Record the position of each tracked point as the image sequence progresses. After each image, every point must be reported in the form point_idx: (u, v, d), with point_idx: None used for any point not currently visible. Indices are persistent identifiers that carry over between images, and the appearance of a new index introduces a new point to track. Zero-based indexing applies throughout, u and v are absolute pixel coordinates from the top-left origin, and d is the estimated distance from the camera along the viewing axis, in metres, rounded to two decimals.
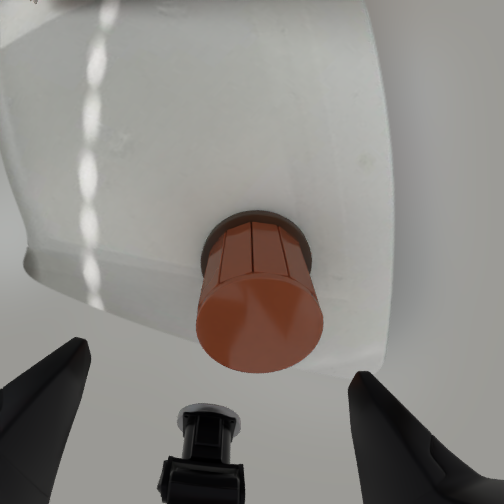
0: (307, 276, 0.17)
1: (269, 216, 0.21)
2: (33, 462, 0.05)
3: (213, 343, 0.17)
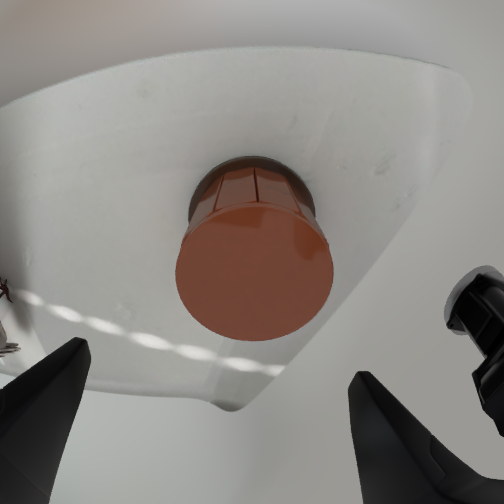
0: (211, 202, 0.14)
1: (192, 201, 0.19)
2: (33, 462, 0.05)
3: (264, 329, 0.14)
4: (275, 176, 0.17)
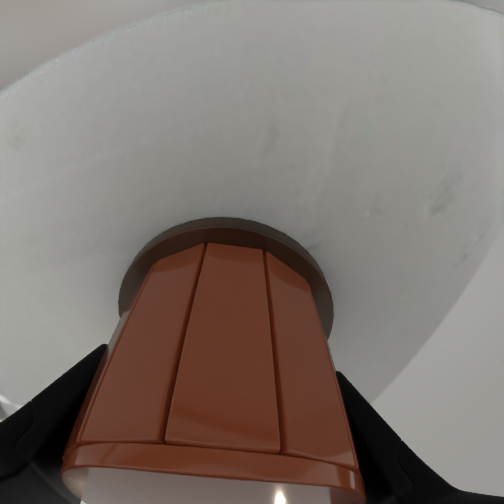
0: (95, 387, 0.05)
1: (120, 308, 0.11)
2: None
3: None
4: (244, 265, 0.09)
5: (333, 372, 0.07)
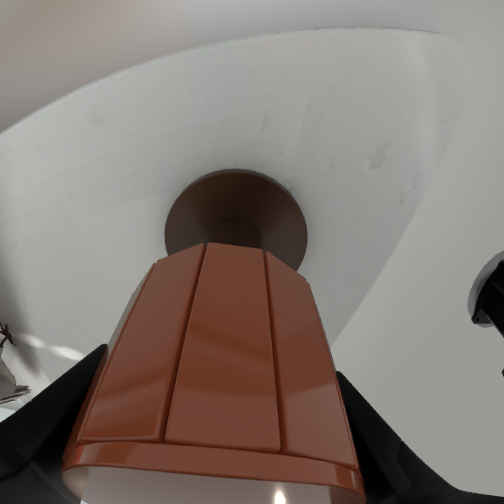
0: (95, 386, 0.05)
1: (166, 229, 0.17)
2: None
3: None
4: (244, 265, 0.09)
5: (333, 371, 0.07)
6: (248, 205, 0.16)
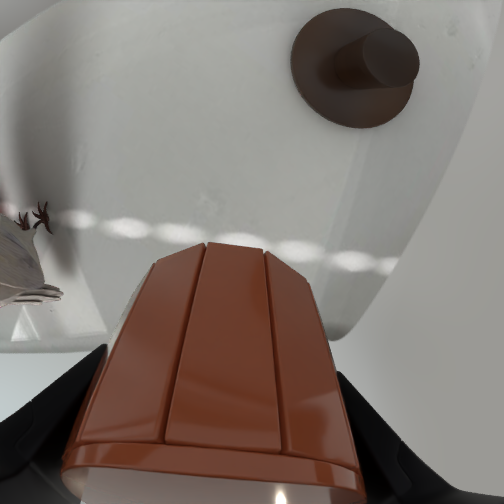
0: (94, 387, 0.05)
1: (295, 47, 0.15)
2: None
3: None
4: (245, 265, 0.08)
5: (334, 371, 0.07)
6: None
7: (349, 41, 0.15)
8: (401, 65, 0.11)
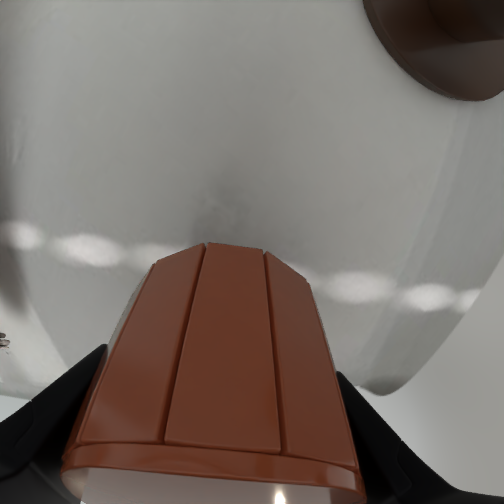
0: (94, 387, 0.05)
1: None
2: None
3: None
4: (244, 265, 0.08)
5: (333, 372, 0.07)
6: None
7: None
8: None
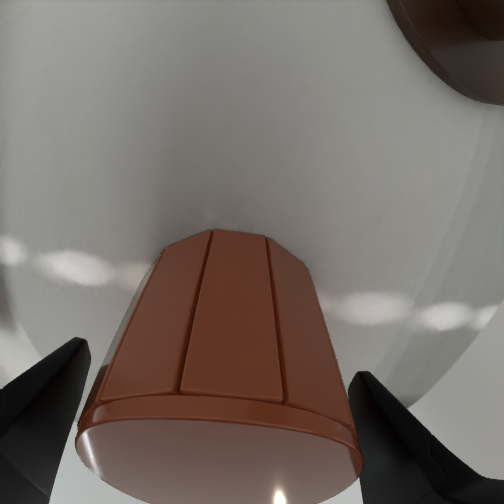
0: (112, 355, 0.06)
1: None
2: (33, 462, 0.05)
3: None
4: (248, 248, 0.09)
5: (330, 343, 0.08)
6: None
7: None
8: None
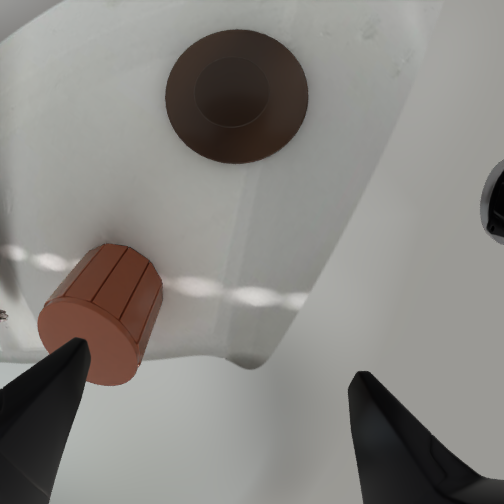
0: (54, 292, 0.16)
1: (168, 85, 0.15)
2: (33, 462, 0.05)
3: (108, 378, 0.17)
4: (114, 252, 0.19)
5: (133, 293, 0.18)
6: (249, 58, 0.15)
7: None
8: (243, 99, 0.11)
